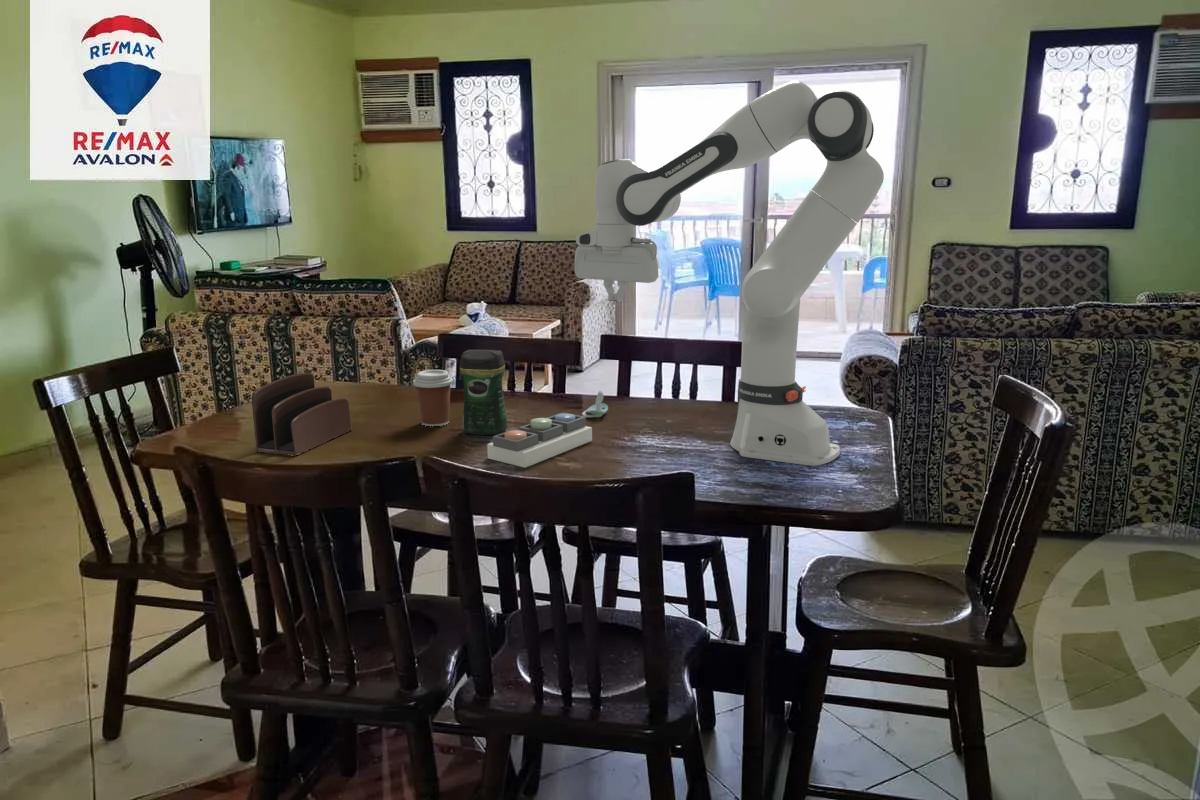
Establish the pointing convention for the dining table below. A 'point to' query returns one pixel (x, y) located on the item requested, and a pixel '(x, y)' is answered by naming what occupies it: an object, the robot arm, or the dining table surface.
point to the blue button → (565, 417)
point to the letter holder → (297, 415)
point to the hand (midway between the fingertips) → (615, 301)
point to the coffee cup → (433, 396)
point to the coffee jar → (483, 392)
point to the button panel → (540, 442)
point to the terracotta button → (515, 435)
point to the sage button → (541, 424)
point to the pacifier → (596, 407)
